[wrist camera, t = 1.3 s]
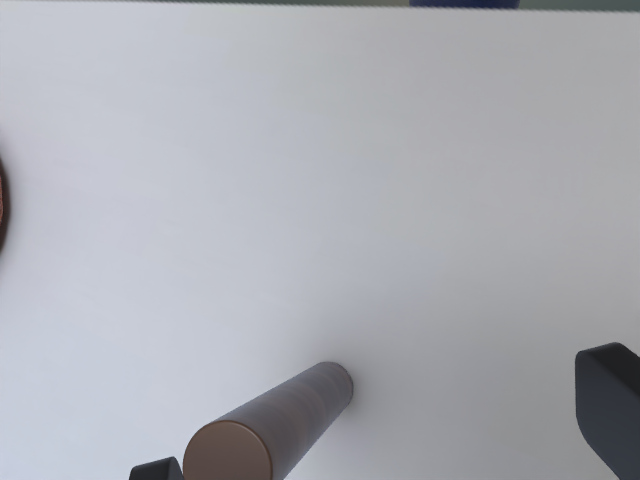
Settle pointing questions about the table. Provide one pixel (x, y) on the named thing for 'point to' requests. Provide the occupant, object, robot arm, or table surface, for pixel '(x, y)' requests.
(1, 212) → the bowl
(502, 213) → the table surface
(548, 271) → the table surface
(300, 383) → the stick
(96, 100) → the table surface
